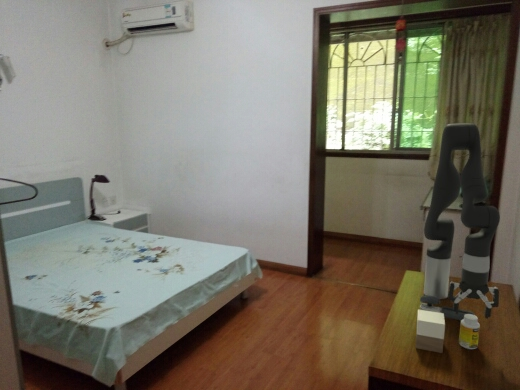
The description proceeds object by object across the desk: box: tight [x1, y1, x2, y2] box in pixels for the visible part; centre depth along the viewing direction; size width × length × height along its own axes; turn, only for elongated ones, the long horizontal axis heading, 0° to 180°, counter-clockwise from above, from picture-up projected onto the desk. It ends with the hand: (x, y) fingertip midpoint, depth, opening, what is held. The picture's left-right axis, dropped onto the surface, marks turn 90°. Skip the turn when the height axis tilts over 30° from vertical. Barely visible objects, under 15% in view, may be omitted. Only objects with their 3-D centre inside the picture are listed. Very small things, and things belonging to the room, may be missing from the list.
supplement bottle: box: [458, 314, 481, 350], centre depth 129 cm, size 6×6×10 cm
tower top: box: [416, 309, 446, 340], centre depth 129 cm, size 8×8×5 cm
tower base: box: [415, 329, 445, 354], centre depth 130 cm, size 8×8×5 cm
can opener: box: [419, 294, 475, 321], centre depth 149 cm, size 19×5×6 cm, turn 61°
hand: (471, 315), depth 127 cm, fingers open, 8 cm apart
